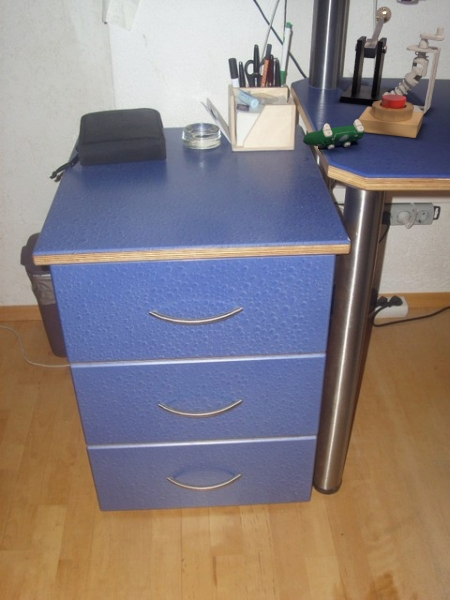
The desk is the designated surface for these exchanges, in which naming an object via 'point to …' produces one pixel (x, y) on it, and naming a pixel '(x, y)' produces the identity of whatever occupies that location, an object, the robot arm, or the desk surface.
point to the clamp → (419, 72)
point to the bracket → (356, 91)
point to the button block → (391, 120)
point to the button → (393, 101)
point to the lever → (376, 32)
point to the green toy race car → (335, 135)
